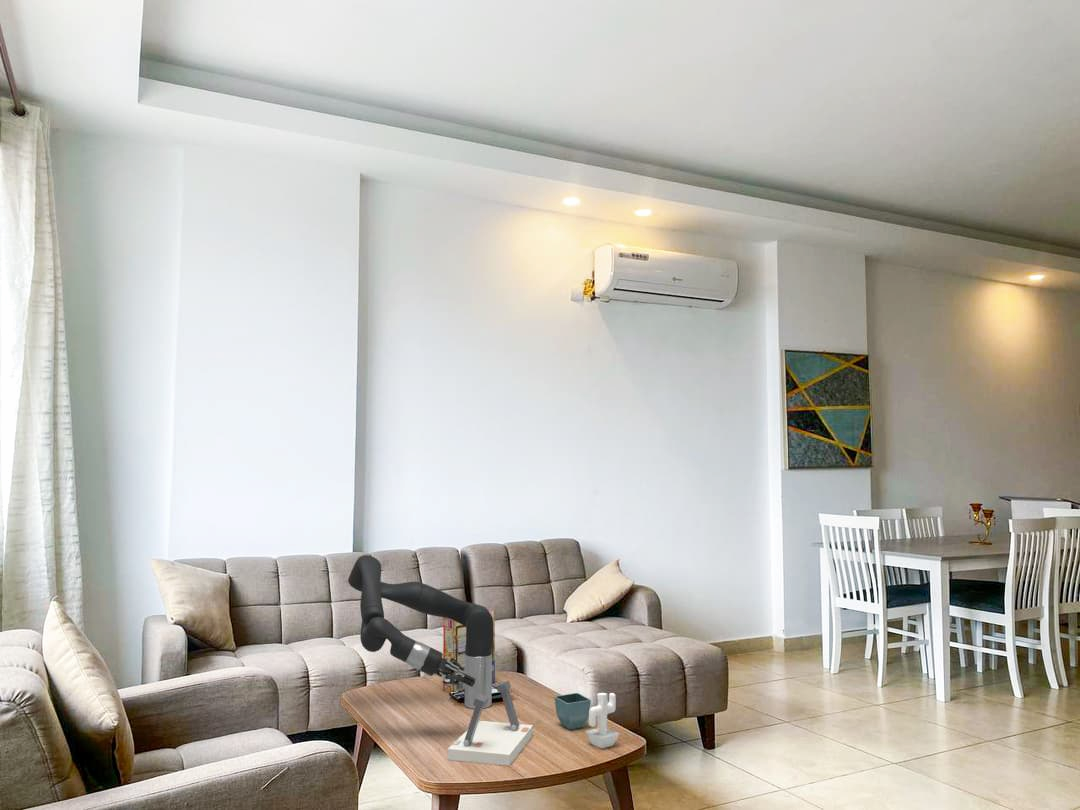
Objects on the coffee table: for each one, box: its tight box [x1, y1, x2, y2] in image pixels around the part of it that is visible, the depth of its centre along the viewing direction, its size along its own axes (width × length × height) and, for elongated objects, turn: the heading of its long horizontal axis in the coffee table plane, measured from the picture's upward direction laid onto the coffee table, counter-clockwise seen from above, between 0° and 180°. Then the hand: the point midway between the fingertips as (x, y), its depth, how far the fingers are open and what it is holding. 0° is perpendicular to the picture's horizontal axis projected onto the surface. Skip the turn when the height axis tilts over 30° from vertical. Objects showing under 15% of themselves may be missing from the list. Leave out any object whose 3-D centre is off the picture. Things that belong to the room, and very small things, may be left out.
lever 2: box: [496, 679, 520, 731], centre depth 250 cm, size 4×3×14 cm, turn 166°
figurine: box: [584, 692, 620, 749], centre depth 245 cm, size 7×9×15 cm
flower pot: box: [553, 692, 592, 730], centre depth 261 cm, size 9×9×9 cm
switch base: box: [447, 720, 534, 767], centre depth 243 cm, size 26×18×3 cm
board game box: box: [442, 609, 496, 694], centre depth 306 cm, size 20×6×27 cm, turn 135°
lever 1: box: [463, 694, 489, 746], centre depth 236 cm, size 4×3×14 cm, turn 166°
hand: (474, 683), depth 254 cm, fingers closed
